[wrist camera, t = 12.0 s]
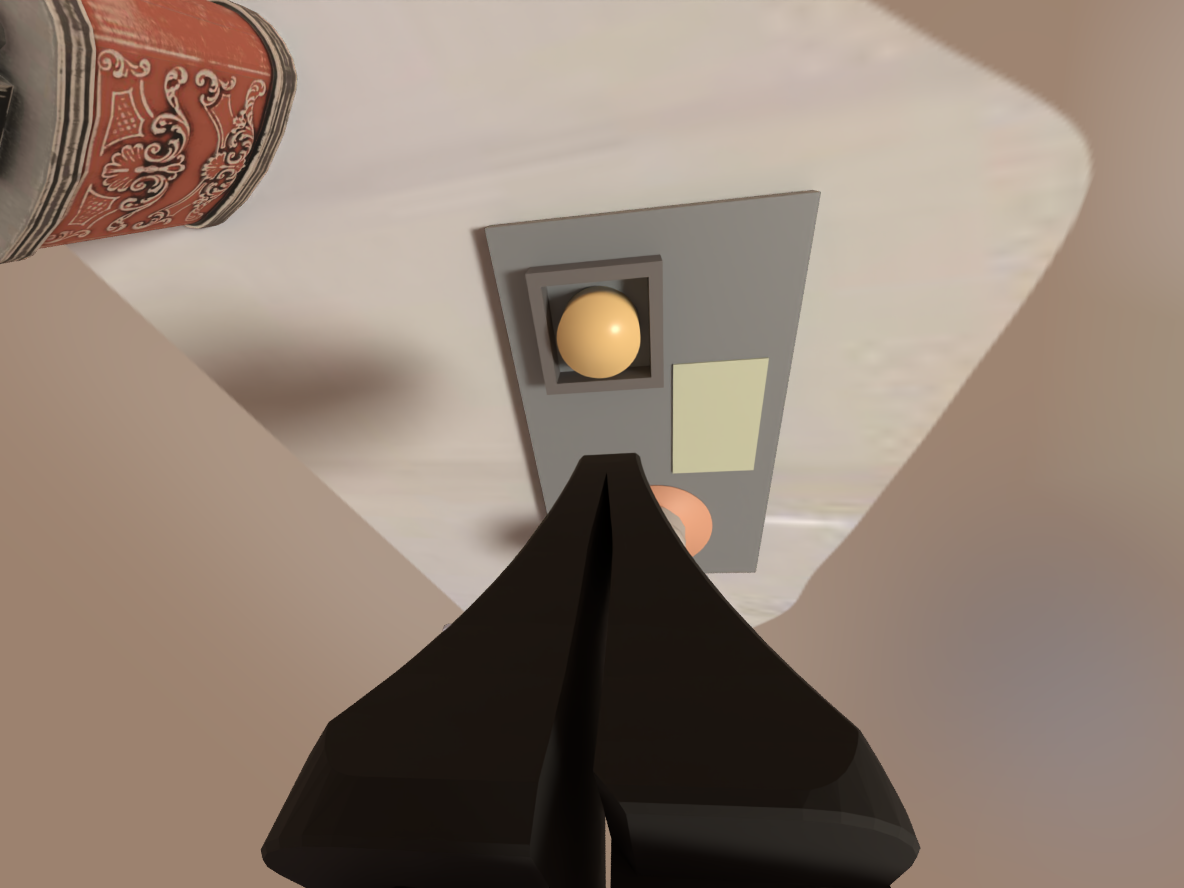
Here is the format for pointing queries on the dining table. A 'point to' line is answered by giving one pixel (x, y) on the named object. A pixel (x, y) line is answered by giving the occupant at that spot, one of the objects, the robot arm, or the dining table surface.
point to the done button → (599, 332)
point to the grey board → (667, 352)
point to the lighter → (133, 116)
